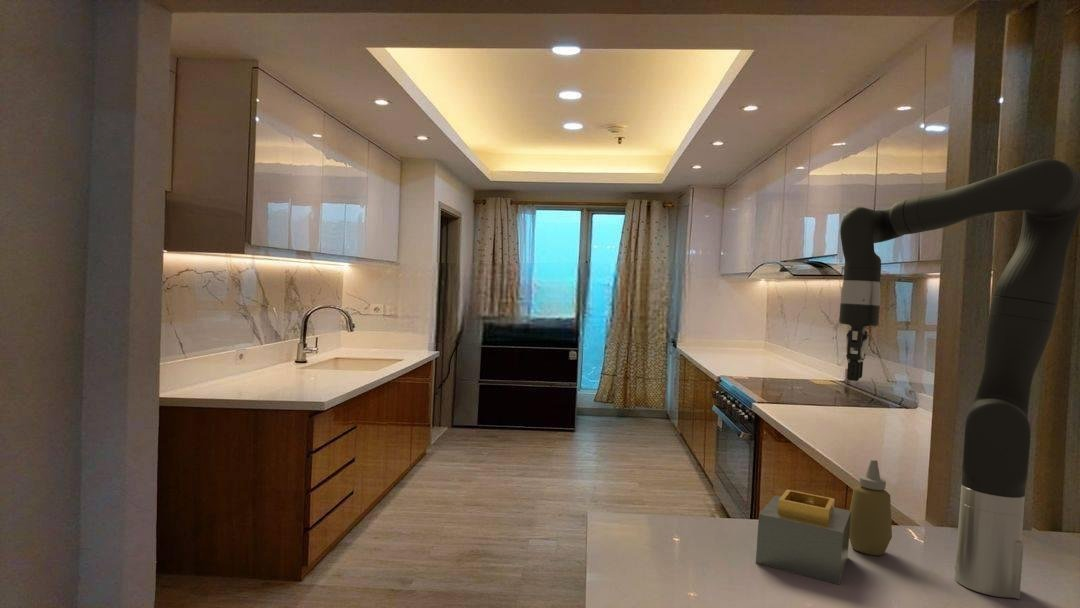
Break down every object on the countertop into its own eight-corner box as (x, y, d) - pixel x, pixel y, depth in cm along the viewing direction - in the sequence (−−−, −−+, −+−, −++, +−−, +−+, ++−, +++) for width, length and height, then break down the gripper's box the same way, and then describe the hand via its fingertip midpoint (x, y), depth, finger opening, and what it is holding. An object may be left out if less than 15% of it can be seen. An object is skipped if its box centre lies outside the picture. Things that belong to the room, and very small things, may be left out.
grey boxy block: (847, 557, 123) (851, 497, 123) (839, 584, 110) (843, 518, 110) (771, 539, 131) (775, 483, 130) (755, 562, 118) (759, 500, 118)
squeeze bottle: (880, 544, 132) (886, 457, 131) (898, 560, 123) (904, 467, 123) (839, 540, 132) (845, 453, 132) (854, 556, 124) (861, 463, 124)
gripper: (878, 303, 128) (872, 384, 128) (881, 304, 140) (876, 378, 140) (836, 300, 132) (831, 379, 132) (843, 302, 144) (838, 374, 144)
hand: (854, 379), depth 136 cm, fingers open, 8 cm apart
